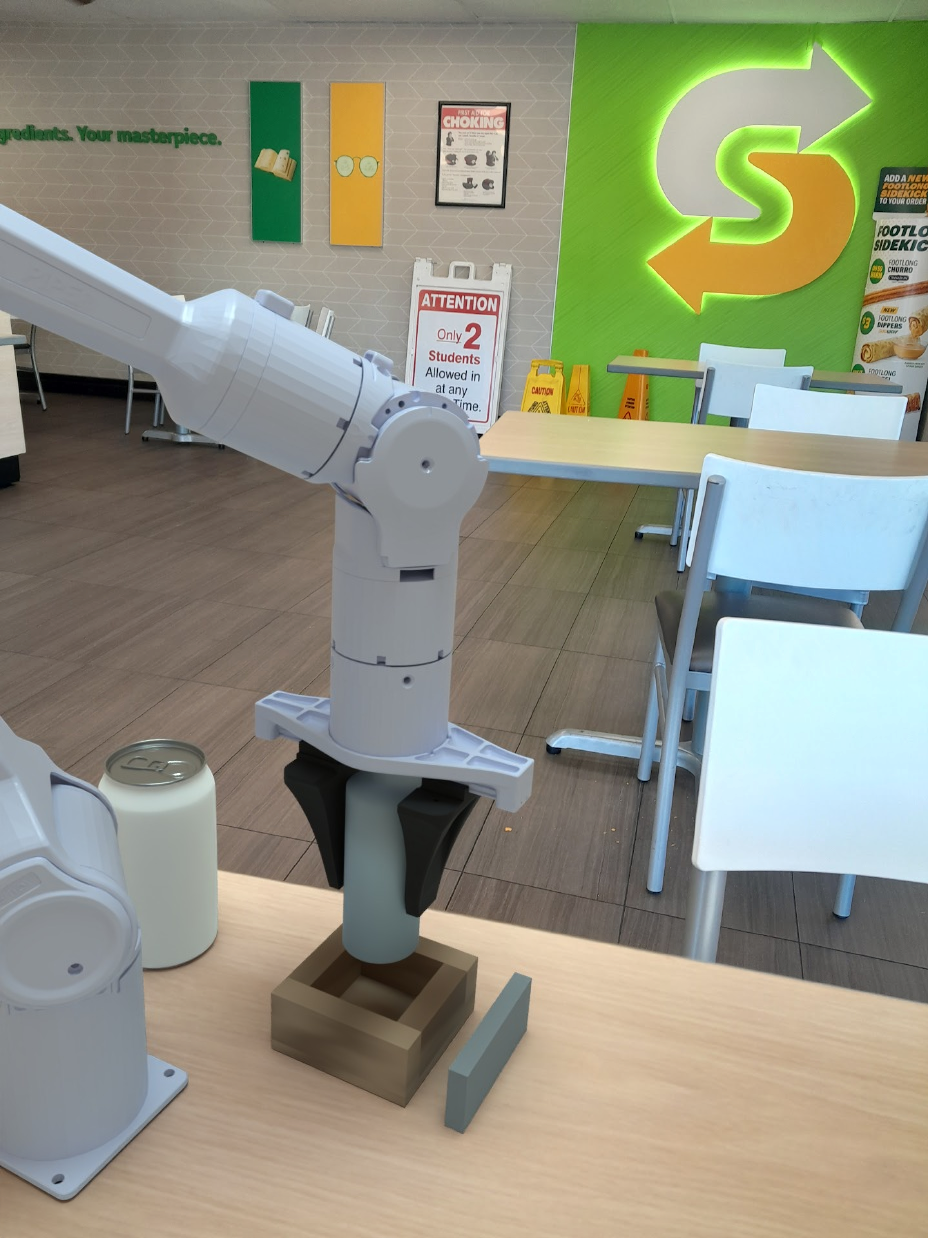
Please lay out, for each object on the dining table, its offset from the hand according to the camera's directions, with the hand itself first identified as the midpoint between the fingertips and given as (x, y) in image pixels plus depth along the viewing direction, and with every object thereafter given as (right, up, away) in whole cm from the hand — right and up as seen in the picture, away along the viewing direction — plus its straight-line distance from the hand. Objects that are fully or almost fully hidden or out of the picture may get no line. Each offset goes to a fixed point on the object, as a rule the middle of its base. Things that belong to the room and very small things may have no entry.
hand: (382, 892), depth 51 cm
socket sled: (-1, -8, +3) cm, 9 cm away
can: (-14, -5, +9) cm, 17 cm away
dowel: (0, -3, +1) cm, 3 cm away
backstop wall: (+5, -9, 0) cm, 11 cm away
